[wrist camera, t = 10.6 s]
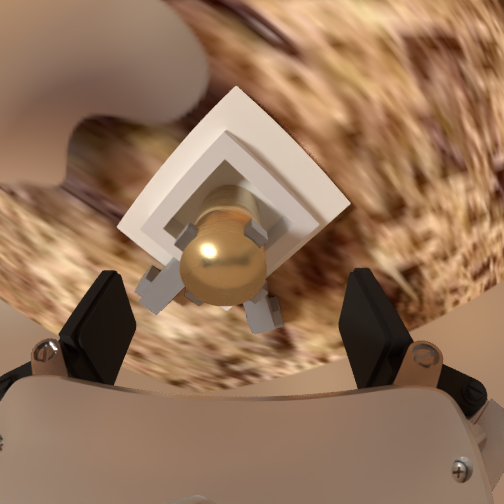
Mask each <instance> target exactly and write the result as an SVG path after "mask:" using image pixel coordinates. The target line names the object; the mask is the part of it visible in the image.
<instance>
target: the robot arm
mask: <svg viewBox="0 0 504 504" xmlns="http://www.w3.org/2000/svg"><path fill="white" fill-rule="evenodd" d="M135 330H136V321H135V318H134V315H133V312H132V309H131V306H130V303H129V300H128V297H127V294H126V290H125V287H124V284H123V280H122V277H121V275H120V274H118V273H117V271H115V270H104V271H102V272H101V274H100V275H99V276H98V278H97V279H96V280H95V282H94V283H93V284H92V286H91V287H90V288H89V290H88V291H87V293H86V294H85V295H84V297H83V298H82V300H81V301H80V303H79V304H78V305H77V307H76V308H75V310H74V311H73V313H72V314H71V316H70V317H69V319H68V320H67V322H66V323H65V325H64V326H63V328H62V330H61V331H60V333H59V336H60V339H59V341H57V340H56V339H53V338H47V339H44V340H42V341H40V342H39V343H37V344H36V345H35V347H34V348H33V349H32V352H31V361H30V362H28V363H26V364H24V365H22V366H20V367H18V368H16V369H14V370H12V371H10V372H8V373H6V374H4V375H2V376H1V377H0V504H494V501H493V496H492V491H493V489H494V488H495V486H496V484H497V483H498V481H499V480H500V478H501V476H502V474H503V473H504V409H503V408H502V407H501V406H500V405H499V404H498V403H496V402H495V401H494V400H493V399H491V400H490V401H489V400H488V399H487V392H486V389H485V387H484V386H483V384H482V383H481V382H479V381H478V380H476V379H474V378H472V377H469V376H468V375H466V374H463V373H461V372H459V371H457V370H455V369H453V368H451V367H448V366H446V365H444V364H443V356H442V353H441V351H440V350H439V348H438V347H436V346H435V345H434V344H432V343H430V342H427V341H416V342H414V341H413V339H412V338H411V336H410V334H409V332H408V330H407V329H406V327H405V325H404V323H403V322H402V320H401V318H400V316H399V315H398V313H397V311H396V310H395V308H394V306H393V305H392V303H391V301H390V300H389V299H388V298H387V296H386V294H385V293H384V291H383V289H382V288H381V286H380V285H379V283H378V281H377V280H376V278H375V277H374V275H373V273H372V272H371V270H370V269H369V268H355V269H354V271H353V272H350V274H349V278H348V283H347V288H346V293H345V297H344V302H343V306H342V310H341V315H340V319H339V331H340V334H341V337H342V340H343V343H344V346H345V349H346V352H347V356H348V359H349V362H350V365H351V368H352V371H353V375H354V378H355V381H356V384H357V388H358V389H356V390H348V391H339V392H329V393H319V394H307V395H294V396H270V397H222V396H199V395H185V394H174V393H163V392H154V391H146V390H139V389H132V388H125V387H119V386H114V383H115V381H116V378H117V375H118V373H119V370H120V367H121V365H122V362H123V360H124V357H125V355H126V352H127V350H128V347H129V345H130V342H131V340H132V338H133V335H134V333H135Z"/></svg>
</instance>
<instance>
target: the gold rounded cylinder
mask: <svg viewBox="0 0 504 504" xmlns="http://www.w3.org/2000/svg"><path fill="white" fill-rule="evenodd" d="M267 241H268V236H267V231H266V230H265V229H264V228H262V227H261V221H260V214H259V207H258V203H257V201H256V199H255V197H254V196H253V195H252V194H251V193H250V192H249V191H248V190H246V189H245V188H243V187H240V186H237V185H223V186H220V187H217V188H215V189H214V190H212V191H211V192H210V193H209V194H208V195H207V196H206V198H205V200H204V202H203V204H202V206H201V209H200V211H199V214H198V216H197V218H196V221H195V223H194V224H192V223H191V222H189V223H188V225H187V226H186V227H185V228H184V229H183V230H182V232H181V233H180V234H179V235H178V237H177V239H176V241H175V243H174V246H176V247H177V248H178V249H180V250H181V251H182V252H183V254H182V256H181V259H180V264H179V271H180V276H181V279H182V282H183V284H184V285H185V287H186V290H185V294H184V296H185V297H186V298H188V299H189V300H191V301H192V302H194V303H195V304H197V305H198V306H200V305H201V304H202V303H203V302H205V303H208V304H211V305H215V306H234V305H239V304H242V303H244V302H247V301H248V300H250V301H251V302H253V303H254V304H256V303H257V302H259V301H260V300H261V299H262V298H263V297H264V296H266V295H267V294H268V293H269V291H268V283H267V281H266V276H267V265H266V258H265V250H264V244H265V243H266V242H267Z"/></svg>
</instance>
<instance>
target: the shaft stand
mask: <svg viewBox="0 0 504 504" xmlns="http://www.w3.org/2000/svg"><path fill="white" fill-rule="evenodd" d="M223 185H237V186H240V187H243V188H245V189H246V190H248V191H249V192H250V193H251V194H252V195H253V196H254V197H255V199H256V201H257V203H258V207H259V214H260V221H261V227H262V228H264V229H265V230H266V231H267V236H268V241H267V242H266V243H265V244H264V250H265V258H266V265H267V276H266V278H267V277H268V276H269V275H270V274H271V273H273V272H274V271H275V270H276V269H277V268H278V267H280V266H281V265H282V264H283V263H284V262H285V261H287V260H288V259H289V258H290V257H291V256H292V255H293V254H295V253H296V252H297V251H298V250H299V249H300V248H301V247H303V246H304V245H305V244H306V243H307V242H308V241H309V240H311V239H312V238H313V237H314V236H315V235H316V234H317V233H318V232H320V231H321V230H322V229H323V228H324V227H325V226H326V225H327V224H329V223H330V222H331V221H332V220H333V219H334V218H335V217H336V216H337V215H339V214H340V213H341V212H342V211H343V210H344V209H345V208H346V207H347V206H348V205H350V204H351V203H350V202H349V201H348V200H347V198H346V197H345V196H344V195H343V194H342V192H341V191H340V190H339V189H338V188H337V187H336V185H335V184H334V183H333V182H332V181H331V180H330V179H329V177H328V176H327V175H326V174H325V173H324V172H323V171H322V170H321V168H320V167H319V166H318V165H317V164H316V163H315V162H314V161H313V160H312V159H311V158H310V156H309V155H308V154H307V153H306V152H305V151H304V150H303V149H302V148H301V147H300V146H299V145H298V144H297V143H296V142H295V141H294V140H293V139H292V138H291V137H290V136H289V135H288V134H287V133H286V132H285V131H284V130H283V129H282V128H281V127H280V126H279V125H278V124H277V123H276V122H275V121H274V120H273V119H272V118H271V117H270V116H269V115H268V114H267V113H266V112H265V111H264V110H263V109H262V108H260V107H259V106H258V105H257V104H256V103H255V102H254V101H253V100H252V99H251V98H249V97H248V96H247V95H246V94H245V93H244V92H243V91H242V90H240V89H239V88H238V87H237V86H235V87H234V88H233V89H232V90H231V91H230V92H229V93H228V94H227V95H226V96H225V97H224V98H223V99H222V100H221V101H220V102H219V103H218V104H217V105H216V106H215V107H214V108H213V109H212V110H211V111H210V112H209V113H208V114H207V115H206V116H205V117H204V118H203V120H202V121H201V122H200V123H199V124H198V125H197V126H196V127H195V128H194V129H193V130H192V132H191V133H190V134H189V135H188V136H187V137H186V138H185V139H184V141H183V142H182V143H181V144H180V145H179V146H178V147H177V149H176V150H175V151H174V152H173V153H172V154H171V156H170V157H169V158H168V159H167V160H166V162H165V163H164V164H163V165H162V167H161V168H160V169H159V170H158V172H157V173H156V174H155V175H154V177H153V178H152V179H151V180H150V182H149V183H148V184H147V186H146V187H145V188H144V190H143V191H142V192H141V194H140V195H139V196H138V198H137V199H136V200H135V202H134V203H133V204H132V206H131V207H130V209H129V210H128V211H127V213H126V214H125V216H124V217H123V219H122V220H121V222H120V223H119V224H118V226H117V228H118V229H119V230H121V231H122V232H123V233H124V234H126V235H127V236H128V237H129V238H130V239H132V240H133V241H134V242H135V243H137V244H138V245H139V246H140V247H142V248H143V249H144V250H145V251H147V252H148V253H149V254H150V255H152V256H153V257H154V258H156V259H157V260H158V261H159V262H161V263H162V264H163V265H165V267H164V268H163V270H162V271H161V272H160V271H159V270H158V269H156V268H155V267H154V266H151V267H150V268H149V270H148V271H147V272H146V273H145V275H144V276H143V277H142V278H141V280H140V282H139V284H138V286H137V288H136V289H135V291H134V292H135V293H137V294H138V295H140V296H141V299H140V301H139V303H140V304H141V305H143V306H144V307H146V308H147V309H148V310H150V311H151V312H153V313H154V314H156V315H157V314H158V313H159V312H160V311H162V310H163V309H164V308H165V307H166V306H167V305H168V304H169V303H170V302H171V301H172V300H173V299H174V297H175V296H176V295H177V294H178V293H179V292H180V291H181V290H182V289H183V288H184V287H185V285H184V284H183V282H182V279H181V276H180V271H179V264H180V259H181V256H182V254H183V252H182V251H181V250H180V249H178V248H177V247H176V246H174V243H175V241H176V239H177V237H178V235H179V234H180V233H181V232H182V230H183V229H184V228H185V227H186V226H187V225H188V223H189V222H191V223H192V224H194V223H195V221H196V218H197V216H198V214H199V211H200V209H201V206H202V204H203V202H204V200H205V198H206V196H207V195H208V194H209V193H210V192H211V191H212V190H214V189H215V188H217V187H220V186H223ZM243 305H244V308H245V311H246V319H247V322H248V324H249V327H250V329H251V332H252V333H255V334H257V333H262V332H266V331H271V330H275V328H278V327H283V326H284V324H283V319H282V313H281V309H280V306H279V302H278V299H277V296H275V297H271V298H268V296H267V295H266V296H264V297H263V298H262V299H261V300H260V301H259V302H257V303H256V304H254V303H253V302H251V301H250V300H248V301H247V302H244V303H243ZM220 307H221V308H223V309H224V310H226V311H228V310H229V309H230V308H231V307H232V306H220Z"/></svg>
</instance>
